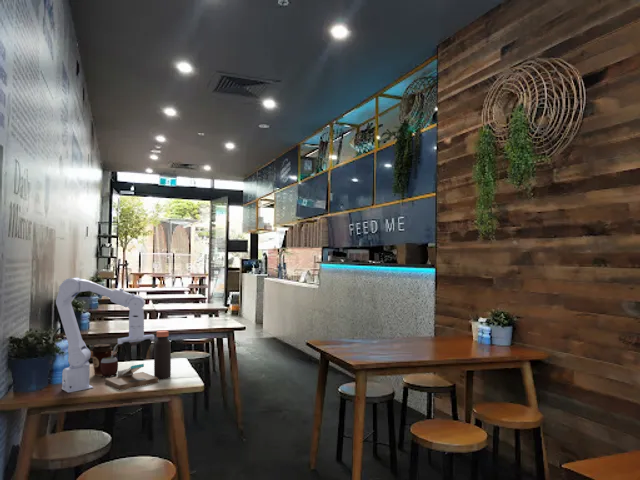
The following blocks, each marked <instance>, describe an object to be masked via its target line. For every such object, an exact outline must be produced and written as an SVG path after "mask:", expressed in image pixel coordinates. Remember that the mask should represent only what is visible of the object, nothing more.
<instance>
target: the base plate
mask: <svg viewBox="0 0 640 480" xmlns="http://www.w3.org/2000/svg"><path fill="white" fill-rule="evenodd" d="M127 369H128V368H125V369H124V368H123V369H118V370H117V376H111V378H109V377H105V379H104V381H105V382H104V383H105V385H106V386H107V385H108V386H109V387H111V388H113V389H115V390H118V391H123V390H129V389H134V388H140V387H142V386H143V387H144V386H147V385H153V384H157V383H159V379H158V378H157V377H155V376H154V375H151V374H149V373H147V372H143V371H140V372H134V373H132V374H127V375H122V376H121V373H123V372H124V371H126V370H127Z"/></svg>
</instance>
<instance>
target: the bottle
mask: <svg viewBox="0 0 640 480" xmlns="http://www.w3.org/2000/svg"><path fill="white" fill-rule="evenodd" d="M169 336H170V335H169V330H164V329H163V330H157V331H156V339H157V340H156V341H154V344H153V345H154V346H153V348H154V349H153V351H154V352H153V353H154V354H153V357H154V359H153V361H154V363H153V366H154V367H153V368H154V369H153V371H154V372H153V374H154V375H153V376H155V377H157V378H158V380H166V379H169V378H171V375H172V373H171V372H172V368H171V367H172V366H171V365H172V362H171V361H172V360H171V359H172V358H171V357H172V355H171V353H172V351H171V350H172V346H171V345H172V342H171V340H170V339H168V338H169Z"/></svg>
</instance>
